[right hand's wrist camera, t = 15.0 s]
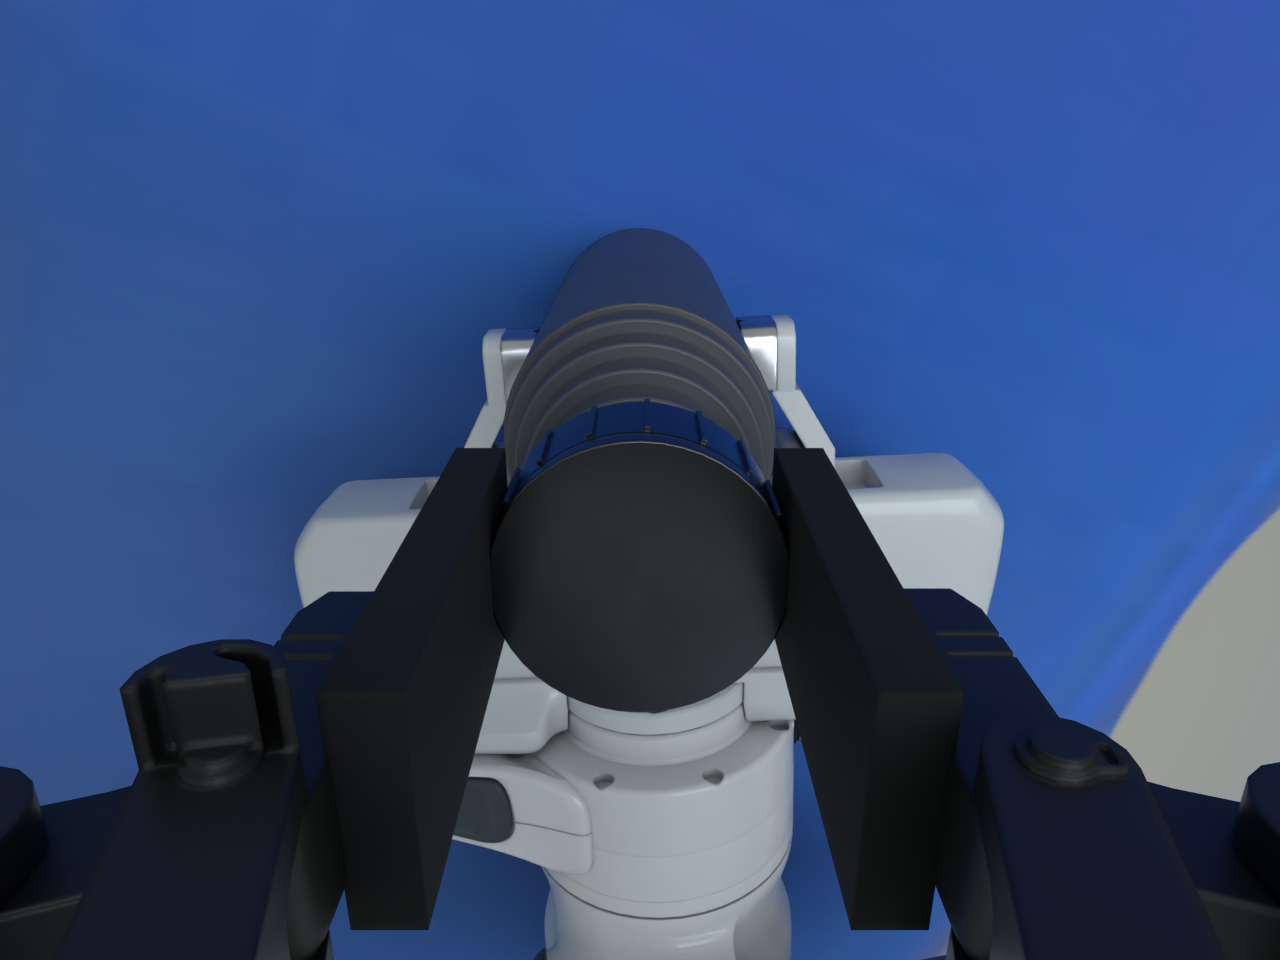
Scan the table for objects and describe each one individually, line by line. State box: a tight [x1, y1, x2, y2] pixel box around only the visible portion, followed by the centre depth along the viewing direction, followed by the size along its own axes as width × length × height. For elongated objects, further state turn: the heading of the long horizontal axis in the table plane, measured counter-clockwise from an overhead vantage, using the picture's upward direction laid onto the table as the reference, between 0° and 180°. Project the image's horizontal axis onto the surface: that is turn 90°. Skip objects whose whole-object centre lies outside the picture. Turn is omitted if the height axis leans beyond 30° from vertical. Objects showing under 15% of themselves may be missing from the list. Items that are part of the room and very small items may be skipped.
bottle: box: [503, 229, 776, 480], centre depth 22 cm, size 6×6×20 cm
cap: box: [489, 399, 790, 712], centre depth 13 cm, size 4×4×2 cm
